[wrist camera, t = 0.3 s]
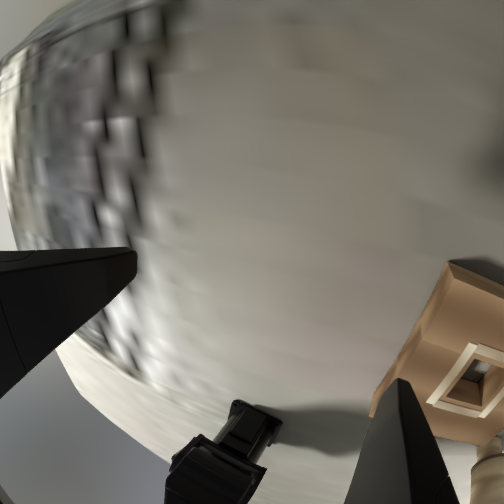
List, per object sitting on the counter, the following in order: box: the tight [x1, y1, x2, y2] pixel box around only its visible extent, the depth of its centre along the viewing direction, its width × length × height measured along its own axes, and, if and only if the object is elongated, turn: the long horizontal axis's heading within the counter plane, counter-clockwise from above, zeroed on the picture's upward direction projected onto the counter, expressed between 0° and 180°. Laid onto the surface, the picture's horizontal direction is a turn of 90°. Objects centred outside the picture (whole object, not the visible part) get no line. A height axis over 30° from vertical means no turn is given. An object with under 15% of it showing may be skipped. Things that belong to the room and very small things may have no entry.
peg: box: [470, 437, 504, 504], centre depth 15 cm, size 5×5×8 cm
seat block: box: [369, 261, 504, 446], centre depth 17 cm, size 14×14×3 cm
